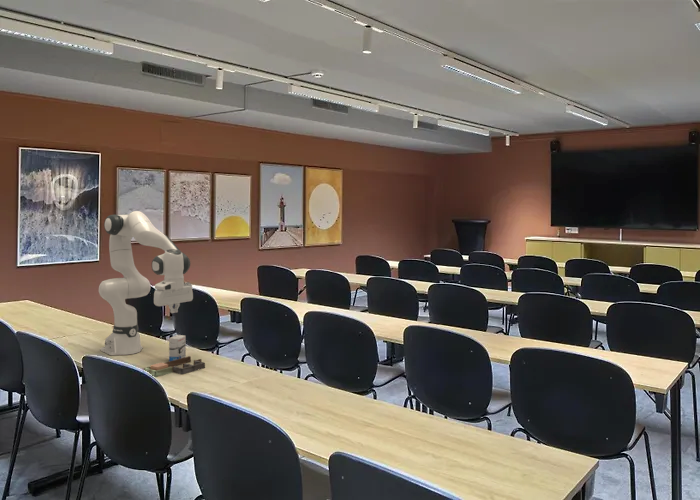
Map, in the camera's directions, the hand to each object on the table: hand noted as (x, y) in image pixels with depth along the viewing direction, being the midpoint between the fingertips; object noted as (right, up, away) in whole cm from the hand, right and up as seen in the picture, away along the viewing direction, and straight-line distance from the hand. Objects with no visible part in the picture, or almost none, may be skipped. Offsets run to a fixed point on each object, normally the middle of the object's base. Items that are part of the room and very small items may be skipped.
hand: (174, 312), depth 276 cm
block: (-4, -27, -9) cm, 29 cm away
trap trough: (+3, -26, -4) cm, 27 cm away
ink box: (-2, -25, +13) cm, 29 cm away
